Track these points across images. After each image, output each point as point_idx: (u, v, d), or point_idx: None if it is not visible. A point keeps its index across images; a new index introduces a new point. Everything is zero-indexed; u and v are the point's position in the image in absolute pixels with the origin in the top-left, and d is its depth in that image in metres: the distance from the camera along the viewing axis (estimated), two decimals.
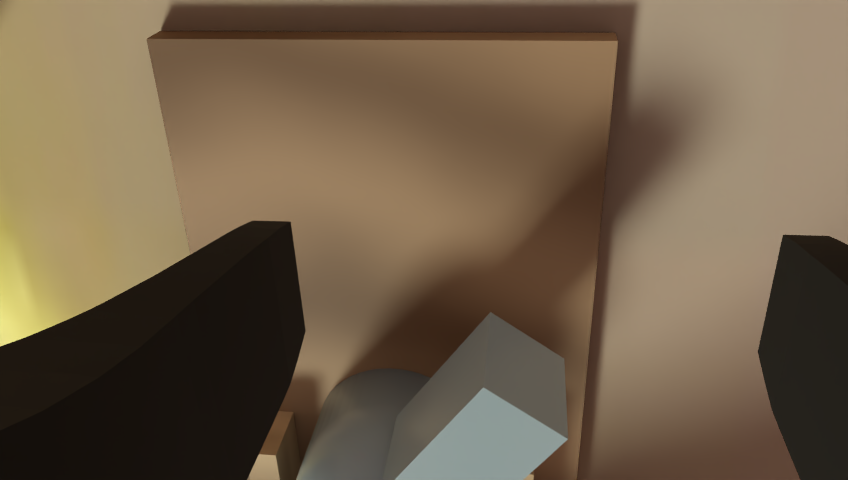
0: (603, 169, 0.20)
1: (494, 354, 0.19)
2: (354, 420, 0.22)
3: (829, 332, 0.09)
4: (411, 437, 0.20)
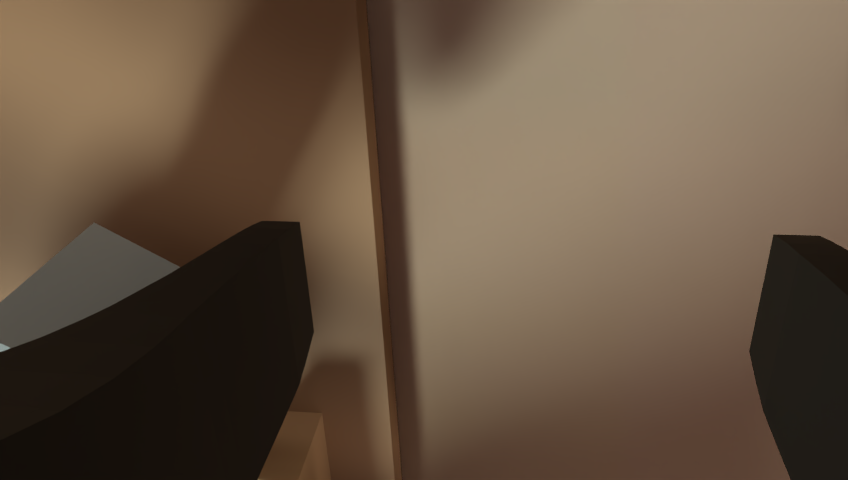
0: None
1: (49, 280, 0.11)
2: None
3: (818, 331, 0.09)
4: None
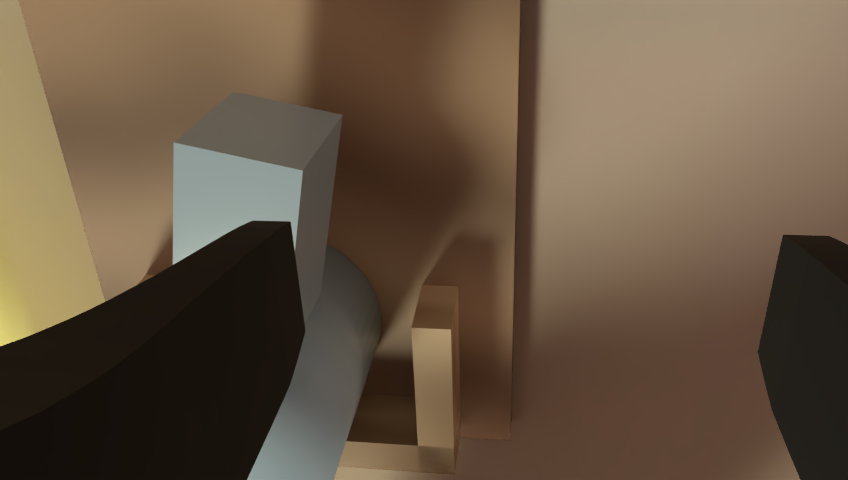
0: None
1: (214, 118, 0.15)
2: None
3: (829, 332, 0.09)
4: None
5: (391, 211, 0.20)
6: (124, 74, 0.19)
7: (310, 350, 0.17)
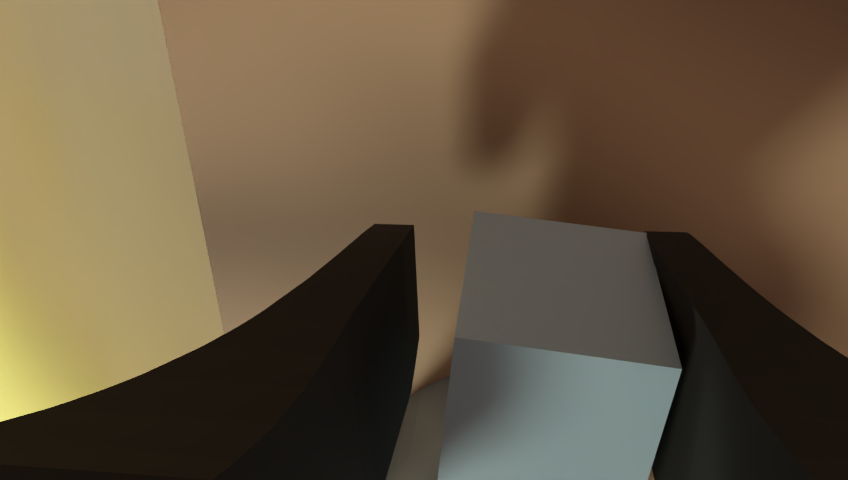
0: None
1: (482, 271, 0.09)
2: None
3: None
4: None
5: None
6: (311, 158, 0.13)
7: None
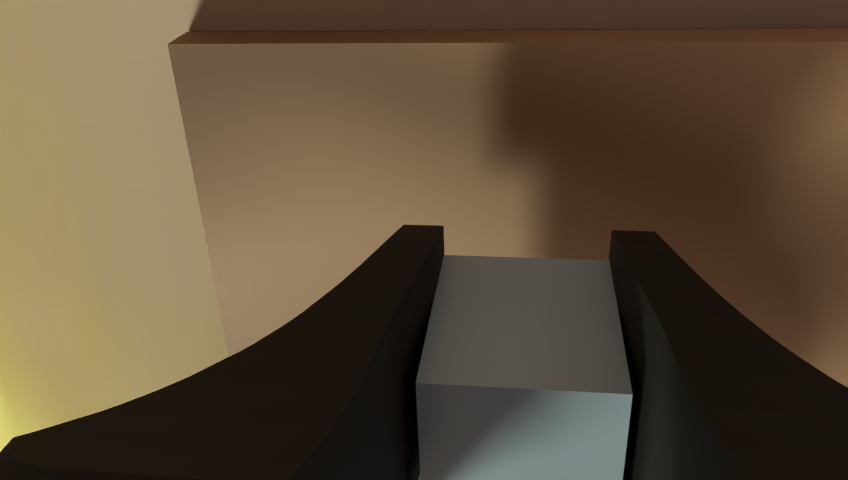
0: None
1: (447, 315, 0.10)
2: None
3: (629, 323, 0.09)
4: None
5: None
6: None
7: None
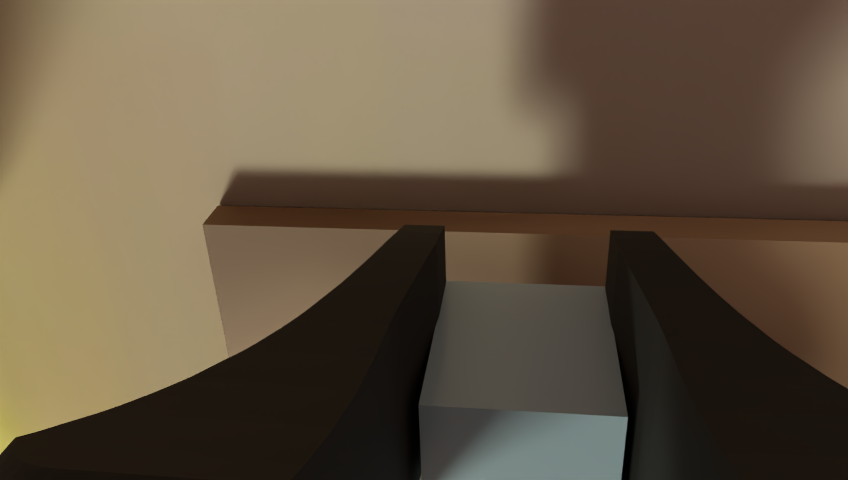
0: None
1: (449, 339, 0.10)
2: None
3: (628, 323, 0.09)
4: None
5: None
6: None
7: None
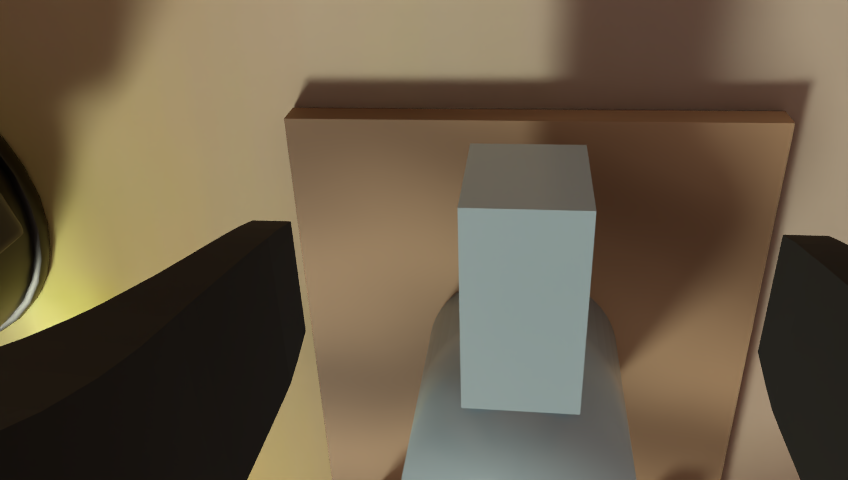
0: (765, 251, 0.19)
1: (475, 175, 0.15)
2: (438, 353, 0.19)
3: (829, 331, 0.09)
4: None
5: None
6: (390, 339, 0.22)
7: (587, 389, 0.17)
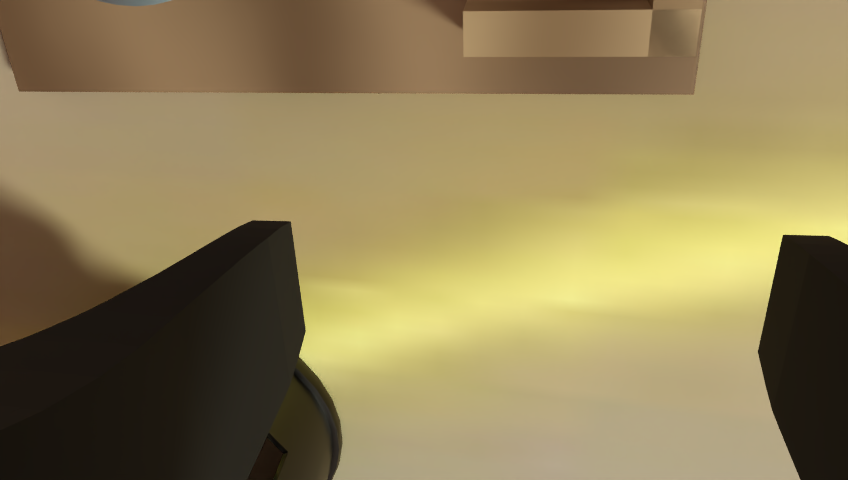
0: None
1: None
2: None
3: (829, 332, 0.09)
4: None
5: None
6: (236, 5, 0.19)
7: None
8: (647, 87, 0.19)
